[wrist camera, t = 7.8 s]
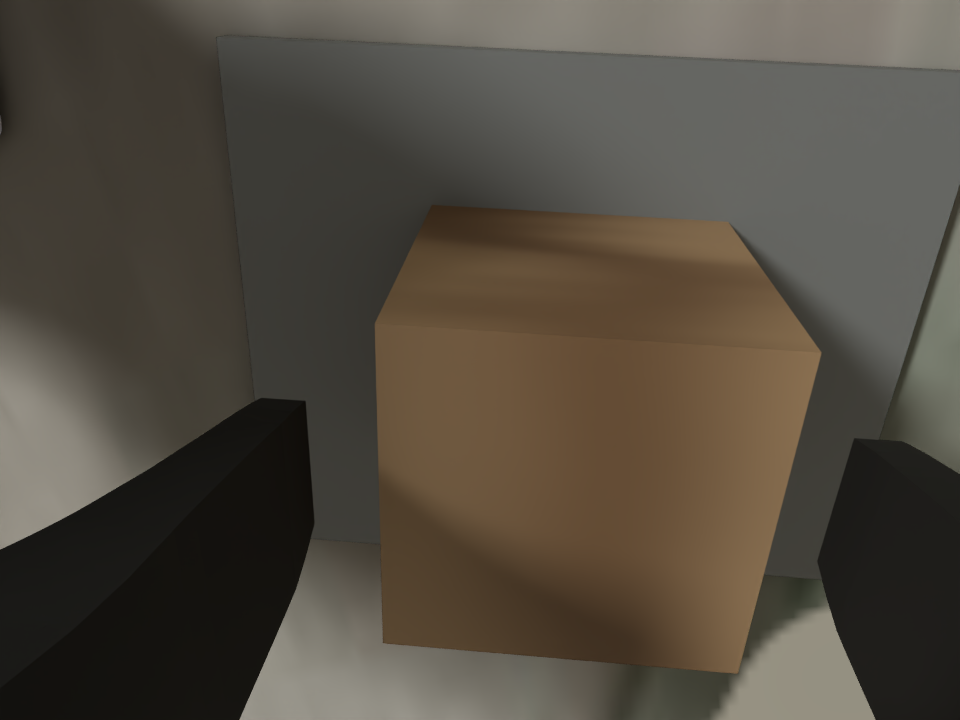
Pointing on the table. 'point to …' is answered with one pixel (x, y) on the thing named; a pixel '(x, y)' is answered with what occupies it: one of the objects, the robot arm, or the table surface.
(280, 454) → the robot arm
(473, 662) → the table surface
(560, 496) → the cube
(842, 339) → the mat
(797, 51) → the table surface
